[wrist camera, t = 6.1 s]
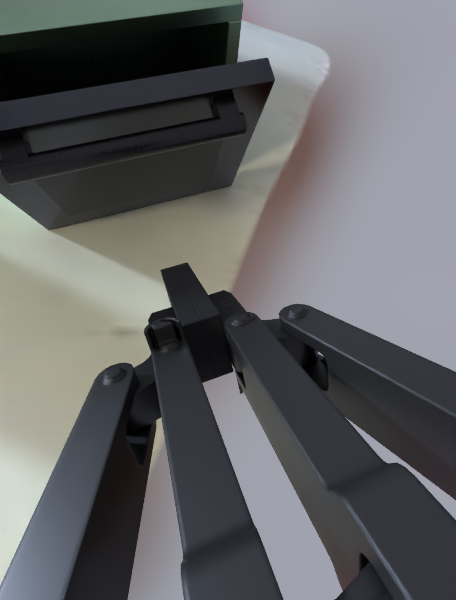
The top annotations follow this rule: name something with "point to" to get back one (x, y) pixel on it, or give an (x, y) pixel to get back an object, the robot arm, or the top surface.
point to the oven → (110, 41)
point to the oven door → (129, 141)
